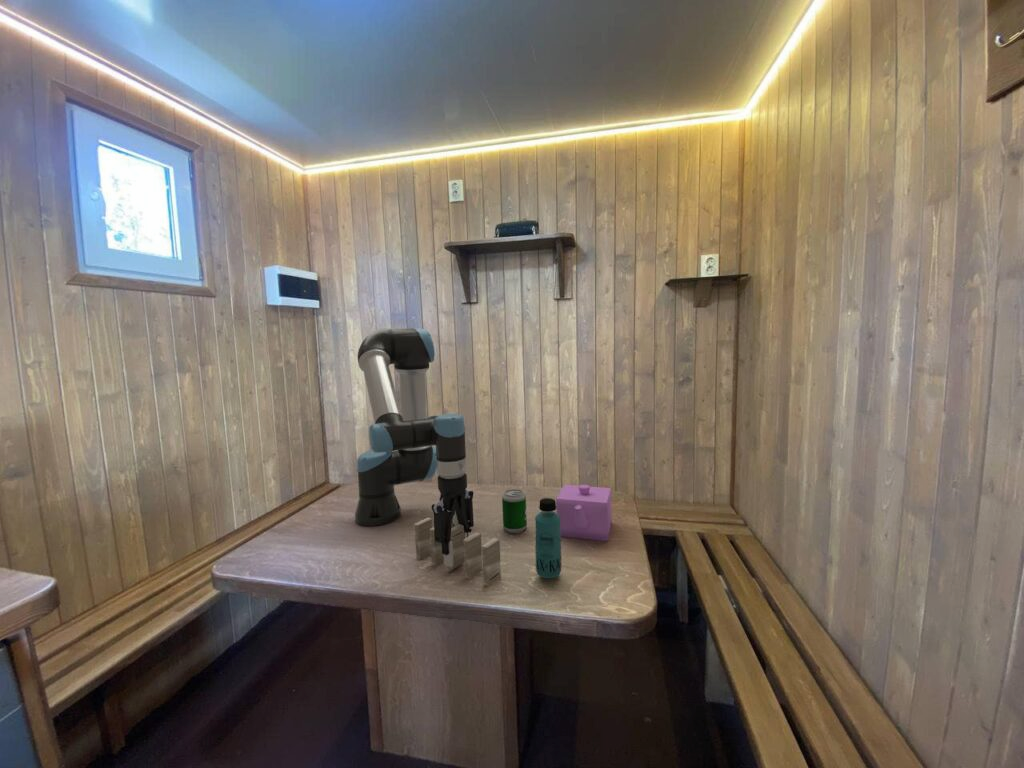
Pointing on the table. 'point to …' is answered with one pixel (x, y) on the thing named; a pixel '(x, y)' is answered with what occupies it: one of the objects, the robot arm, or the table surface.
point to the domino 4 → (472, 555)
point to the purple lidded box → (584, 512)
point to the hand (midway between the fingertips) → (456, 559)
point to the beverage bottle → (548, 540)
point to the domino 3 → (457, 545)
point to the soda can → (514, 511)
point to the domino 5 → (491, 562)
